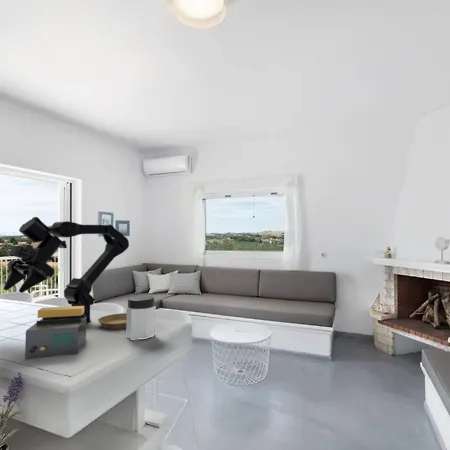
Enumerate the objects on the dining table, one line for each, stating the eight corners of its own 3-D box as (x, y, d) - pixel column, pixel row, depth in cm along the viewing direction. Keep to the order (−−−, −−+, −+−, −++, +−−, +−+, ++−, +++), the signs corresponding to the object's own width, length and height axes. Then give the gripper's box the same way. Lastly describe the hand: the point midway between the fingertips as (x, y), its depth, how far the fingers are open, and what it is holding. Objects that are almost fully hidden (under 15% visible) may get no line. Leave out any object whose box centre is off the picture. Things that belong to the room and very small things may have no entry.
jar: (156, 332, 103) (157, 295, 104) (153, 340, 95) (154, 300, 96) (128, 333, 102) (129, 295, 103) (123, 341, 94) (123, 300, 95)
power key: (42, 314, 92) (42, 307, 92) (84, 312, 95) (84, 305, 95) (37, 317, 88) (37, 310, 88) (81, 315, 91) (81, 308, 91)
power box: (40, 343, 92) (41, 316, 93) (86, 340, 95) (86, 314, 96) (23, 360, 80) (24, 328, 80) (76, 355, 83) (77, 325, 83)
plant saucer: (116, 333, 103) (116, 325, 103) (88, 327, 111) (89, 319, 111) (149, 323, 115) (149, 316, 115) (123, 318, 123) (123, 311, 123)
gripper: (11, 236, 107) (-25, 274, 98) (42, 235, 97) (5, 278, 88) (36, 255, 114) (5, 293, 105) (67, 257, 105) (36, 298, 95)
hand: (12, 290), depth 98 cm, fingers open, 9 cm apart
